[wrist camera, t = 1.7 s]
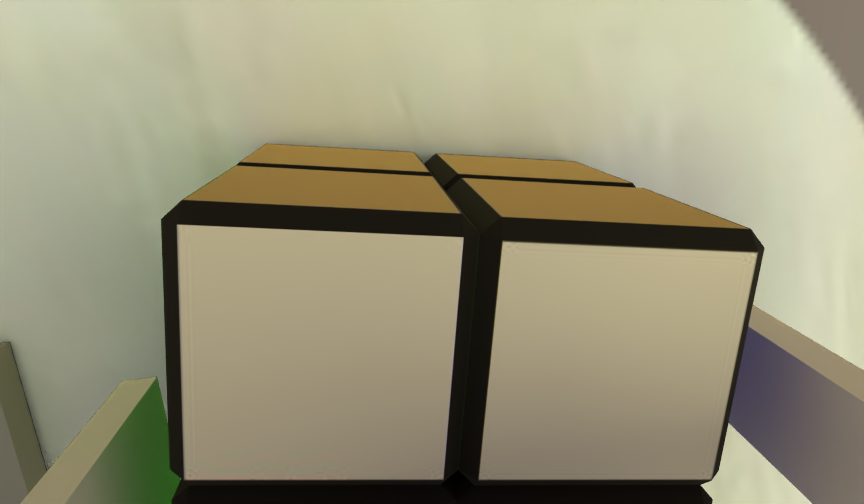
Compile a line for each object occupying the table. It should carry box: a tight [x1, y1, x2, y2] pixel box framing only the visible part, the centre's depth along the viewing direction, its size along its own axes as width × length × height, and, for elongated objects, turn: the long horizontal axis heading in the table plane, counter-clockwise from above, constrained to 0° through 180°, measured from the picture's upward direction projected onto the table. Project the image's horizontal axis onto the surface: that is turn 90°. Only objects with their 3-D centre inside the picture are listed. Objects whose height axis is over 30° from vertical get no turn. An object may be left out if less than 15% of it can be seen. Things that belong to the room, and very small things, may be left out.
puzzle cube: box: [161, 144, 764, 504], centre depth 16 cm, size 10×10×10 cm
